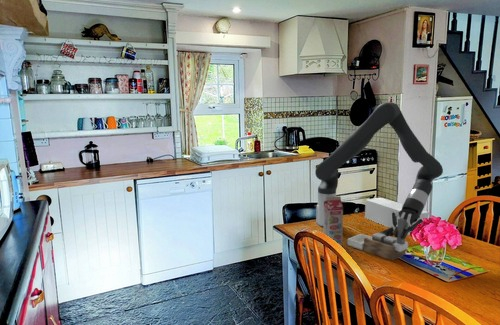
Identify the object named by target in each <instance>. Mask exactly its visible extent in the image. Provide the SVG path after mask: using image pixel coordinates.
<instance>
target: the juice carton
mask: <svg viewBox="0 0 500 325" xmlns="http://www.w3.org/2000/svg"><path fill="white" fill-rule="evenodd" d="M341 200H342V198H341V196H336V197H326V201H325V202H324V218H323V226H322V230H323V231H322V232H323V233H324V234H326V235H327V236H329V237H330V238H332V239H333V240H335V241H336V242H337V243H339V244H340V245H341V246H342V247H343V226H344V218H343V217H344V205H343V203H342V201H341ZM323 233H322V234H323Z"/></svg>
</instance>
